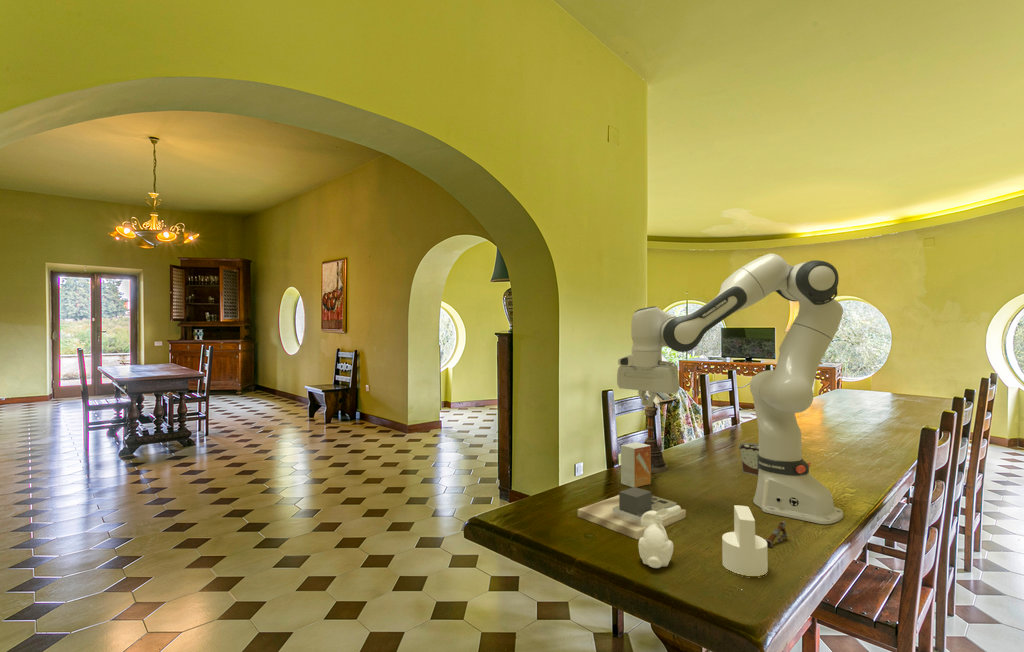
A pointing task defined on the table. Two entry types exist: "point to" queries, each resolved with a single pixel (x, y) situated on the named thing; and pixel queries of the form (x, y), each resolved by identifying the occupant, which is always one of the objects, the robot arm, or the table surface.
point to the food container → (749, 457)
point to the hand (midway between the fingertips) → (647, 405)
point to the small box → (635, 464)
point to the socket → (636, 519)
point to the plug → (635, 500)
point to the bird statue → (650, 412)
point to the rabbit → (656, 538)
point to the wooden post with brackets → (776, 533)
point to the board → (604, 517)
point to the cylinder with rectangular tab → (744, 546)
